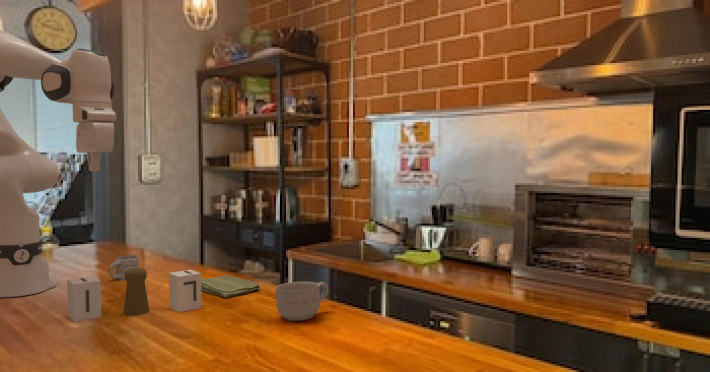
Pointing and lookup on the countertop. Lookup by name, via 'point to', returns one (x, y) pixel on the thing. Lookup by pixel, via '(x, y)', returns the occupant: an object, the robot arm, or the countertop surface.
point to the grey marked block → (84, 298)
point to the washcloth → (227, 286)
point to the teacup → (299, 299)
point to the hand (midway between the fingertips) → (94, 171)
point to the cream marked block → (185, 290)
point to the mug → (123, 266)
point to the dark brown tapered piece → (136, 292)
